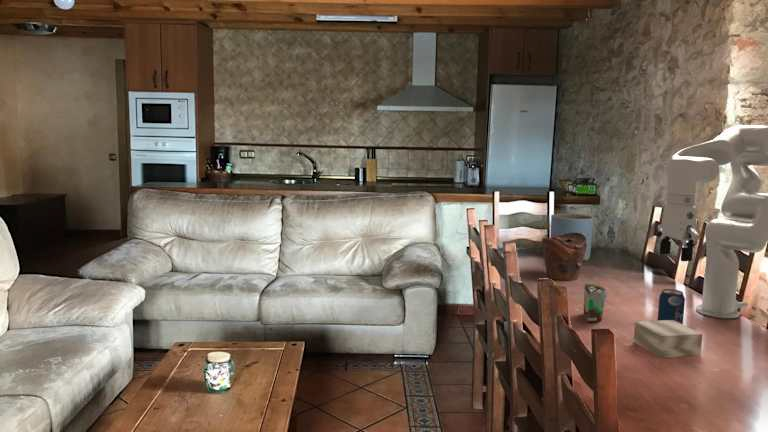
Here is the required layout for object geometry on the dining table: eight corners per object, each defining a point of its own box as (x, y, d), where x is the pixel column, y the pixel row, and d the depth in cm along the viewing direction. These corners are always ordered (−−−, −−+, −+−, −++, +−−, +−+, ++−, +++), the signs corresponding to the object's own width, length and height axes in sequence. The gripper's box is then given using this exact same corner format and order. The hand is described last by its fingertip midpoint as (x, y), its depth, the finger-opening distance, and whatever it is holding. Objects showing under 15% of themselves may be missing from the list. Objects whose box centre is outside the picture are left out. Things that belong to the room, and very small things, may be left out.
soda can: (680, 335, 175) (684, 296, 173) (655, 330, 178) (658, 292, 176) (683, 328, 180) (686, 290, 179) (658, 324, 184) (661, 287, 182)
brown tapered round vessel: (535, 279, 237) (538, 235, 235) (542, 269, 256) (545, 228, 253) (582, 285, 231) (586, 240, 228) (585, 274, 249) (589, 232, 247)
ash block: (671, 339, 171) (673, 319, 170) (700, 355, 159) (702, 334, 158) (633, 341, 169) (635, 321, 168) (660, 357, 157) (661, 336, 156)
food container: (608, 325, 182) (610, 294, 181) (587, 324, 184) (589, 293, 182) (602, 313, 194) (604, 284, 193) (582, 312, 196) (584, 283, 194)
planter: (596, 262, 270) (599, 219, 268) (555, 262, 271) (557, 219, 268) (583, 254, 289) (586, 213, 286) (544, 253, 290) (546, 213, 287)
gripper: (712, 203, 166) (706, 263, 168) (672, 197, 183) (667, 251, 185) (688, 203, 164) (683, 264, 167) (650, 197, 181) (646, 251, 184)
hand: (675, 257), depth 176 cm, fingers open, 9 cm apart
